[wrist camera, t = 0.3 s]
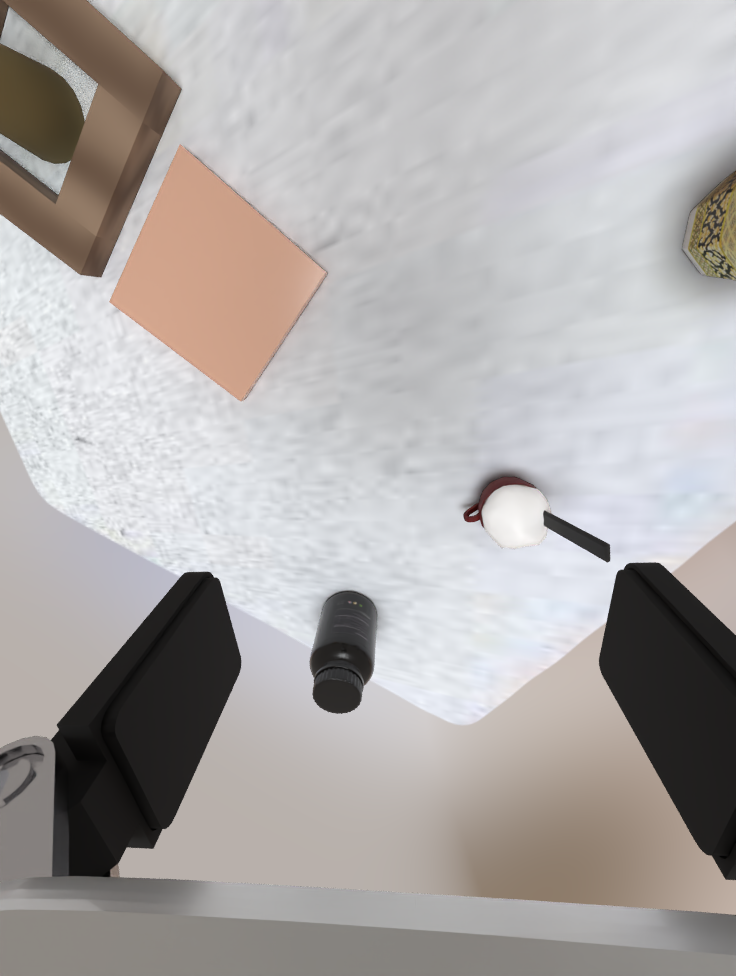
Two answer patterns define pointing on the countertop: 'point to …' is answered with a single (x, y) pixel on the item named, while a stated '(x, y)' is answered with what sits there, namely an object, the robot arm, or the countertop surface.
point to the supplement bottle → (343, 652)
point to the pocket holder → (91, 138)
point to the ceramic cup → (714, 232)
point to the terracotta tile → (214, 277)
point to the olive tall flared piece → (38, 108)
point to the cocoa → (526, 518)
